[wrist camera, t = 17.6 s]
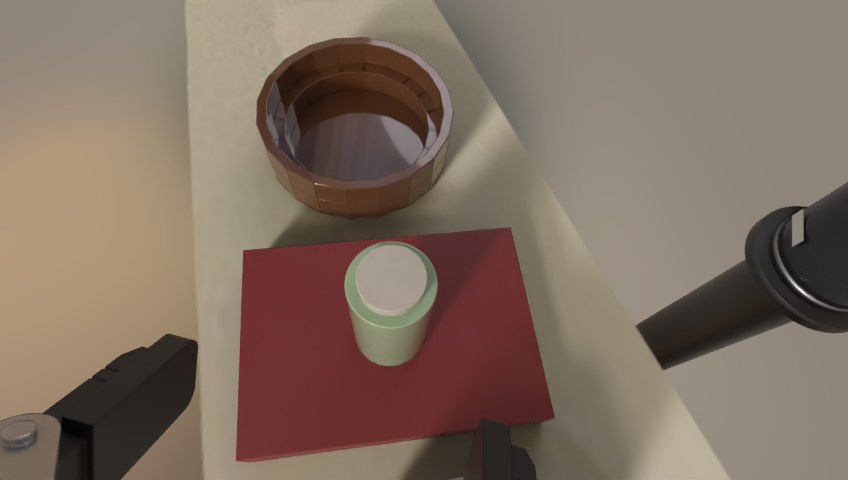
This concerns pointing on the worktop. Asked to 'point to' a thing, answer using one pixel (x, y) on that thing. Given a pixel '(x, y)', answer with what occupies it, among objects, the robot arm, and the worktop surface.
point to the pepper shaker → (390, 301)
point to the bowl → (355, 126)
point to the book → (372, 383)
